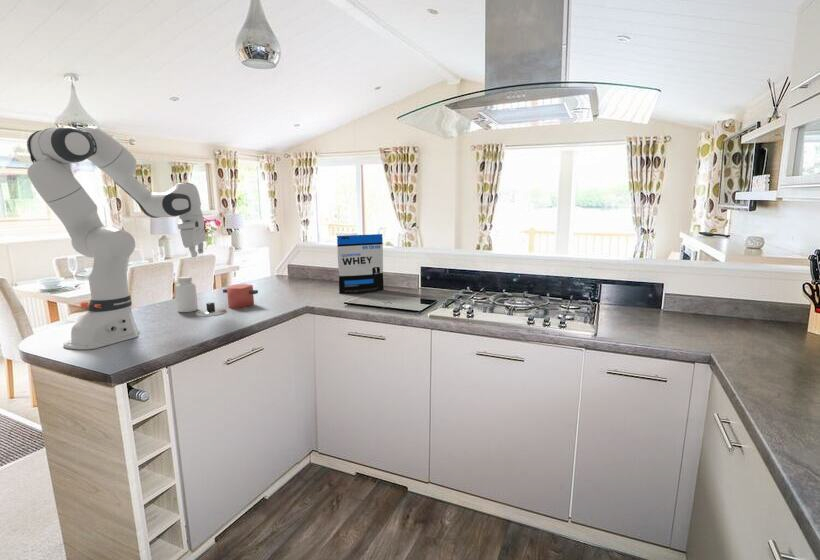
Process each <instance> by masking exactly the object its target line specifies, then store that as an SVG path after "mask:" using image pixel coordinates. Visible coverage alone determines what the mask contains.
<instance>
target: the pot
mask: <svg viewBox="0 0 820 560" xmlns="http://www.w3.org/2000/svg"><path fill="white" fill-rule="evenodd" d="M222 293H225V294H227V301H228V302H227V303H228V304H227V306H228V308H229V309H235V310H237V309H238V310H239V309H240V310H241V309H246V308H247V309H248V308H251V307H253V306H255V298H254V297H255V296H254V295H257V294H258V293H259V290H258V289H254V287H253V285H252V284H245V283H243V284H235V285H234V284H233V285H229V286H227V287H226V288H225V289H222Z"/></svg>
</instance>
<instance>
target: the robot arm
mask: <svg viewBox="0 0 820 560" xmlns="http://www.w3.org/2000/svg"><path fill="white" fill-rule="evenodd" d="M26 147H27V151H28V153H29V155H30V161H31V162H32V164H31V165H29V167H28V168H27V170H26V171H27V176H28V178H29V181H30V182H31V184H32V185H33V187H34V188H35V190H36V191H37V193H38V194H39V196H40V197H41V198H42V200H43V201H44V202H45V204H46V205H47V206H48V207H49V208H50V209H51V211H52V212H53V213H54V214H55V216H56V217H58V219H59V220H60V221H61V223H62V225H63V226H64V228H65V229H66V232H67V233H68V236H69V237H70V238H71V246H72V248H73V249H74V251H75V252H77V254H78V253H79V254H81V255H82V256H84V257H87V258H93V265H92V271H91V273H89V276H88V283H89V289H90V297H91V298H90V301H89V302H85V301H82V302H80V304H79V307H80V308H82V309H87V312H85V314H83V316H82V317H81V318H80V319H79V320H78V321H77V322H76V323H75V324H73V326H72V328H71V331H70V340H68V341H66V342H63V347H64V348H66V349H69V350H72V349H73V350H93V349H94V350H95V349H98V348H99V349H100V348H102V347H106V346H110V345H114V344H116V343H119V342H124V341H127V340H130V339H134V338H138V337H139V333H140V330H139V328H138V327H137V323H136V322H135V318H134V314H133V311H132V305H133V303H132V297H131V295H130V292H129V283H128V267H129V261H130V257H131V256H132V254H133V253H134V252H135V248H136V240H135V238H134V236H133V235H132V234H131V233H129V232H128V231H126V230H124V229H122V228H119V227H108V226H106V225H104V224H103V222H102V221H101V218H100V216H99V213H98V206H97V204H96V203H95V201H94V200H93V199H92V198H91V196H90V195H89V194H88V192H87V191H86V190H85V188H84V187H83V186H82V184H81V183H80V182H79V181H78V179H77V178H76V177H75V176H74V174H73V171H72V168H71V164H75V163H80V162H84V161H85V160H88V161H90V162H91V163H92V164H93V165H94V166H96V167H97V168H98V169H100V171H102V172H103V173H105V174H106V175H107V176H108V177H109V178H110V179H111V180H112V181H113V182H114V183H115V184H116V185H117V187H119V188H121V189H122V190H123V191H124V192H125V193H126V194H127V195H128V196H129V197H131V198H132V199H133V201H135V203H136V204H138V207H139V208H140V210H141V211H142V213H143V214H144V215H146V216H148V217H149V218H151V219H152V218H154V219H156V218H157V219H159V218H175V217H178V218H179V221H178V222H177V223H178V224H177V227H178V228H177V229H178V230H180V238H181V241H182V245H183V246H184V248H186V249H188V250H189V252H190V254H191V257H192V258H196V257H198V254H203V253H204V242H205V241H207V236H206V230H205V227H204V226H205V220H204V215H203V211H202V209H201V208H202V207H201V206H202V203H201V198H200V193H199V190H198V187H197V186H196V185H195V184H194V183H191V182H190V183H189V182H177V183H175V185H174V186H173V187H172V188H170V189H169V190H167V191H165V192H156V191H155V192H154V191H151V190H149V189H148V188H147V187H145V186H144V185H143V184H142V182H140V181H139V179H137V178H136V177H135V176H134V173H135V172H136V170H137V168H138V167H137V165H138V164H137V163H138V162H137V159H136V158H135V155H133V154H132V153H131V152H130V151H129V150H128V149H127V148H126V147H125V146H124V145H122V144H121V143H120V142H119V141H118V140H116V139H115V138H113V137H112V136H111V135H109V134H108V133H107V132H105V131H103V130H102V129H100V128H98V127H97V126H90V125H89V126H85V127H82V128H81V129H79V128H76V127H72V126H61V127H47V128H44V129H40V130H37V131H35V132H33V133H32V134H30V136H29V137H28V138H27V141H26ZM196 247H197V251H196Z"/></svg>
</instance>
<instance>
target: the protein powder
mask: <svg viewBox="0 0 820 560" xmlns="http://www.w3.org/2000/svg"><path fill="white" fill-rule="evenodd" d="M336 240H337V241H336V244H337V246H336V247H337V263H338V264H337V265H338V267H337V268H338V287H339V288H338V290H339V291H338V292H339V294H341V295H342V294H343V295H361V294H371V293H377V292H380V291H385V290H384V287H385V286H384V249H383V247H384V244H383V243H384V242H383V234H382V233H378V234H377V233H376V234H352V235H348V234H347V235H336Z"/></svg>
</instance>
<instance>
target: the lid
mask: <svg viewBox="0 0 820 560" xmlns="http://www.w3.org/2000/svg"><path fill="white" fill-rule="evenodd" d="M215 304H216V303H215V302H206V308H205V309H201V310H196V312H195V315H196V316H197V317H213V316H214V317H215V316H220V315H222V314H225V313H226V312H227V309H226V308H221V307H216V306H215Z"/></svg>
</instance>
